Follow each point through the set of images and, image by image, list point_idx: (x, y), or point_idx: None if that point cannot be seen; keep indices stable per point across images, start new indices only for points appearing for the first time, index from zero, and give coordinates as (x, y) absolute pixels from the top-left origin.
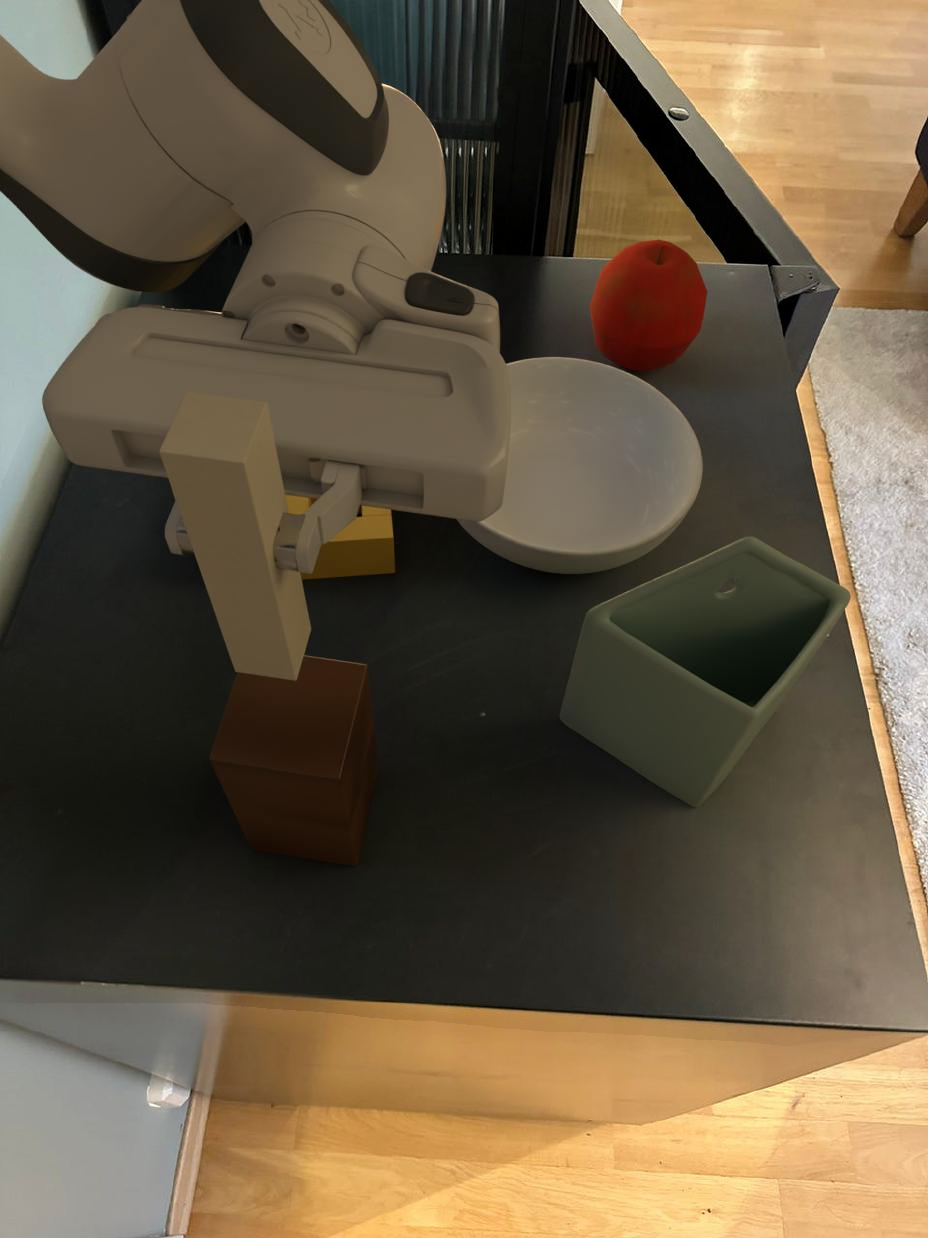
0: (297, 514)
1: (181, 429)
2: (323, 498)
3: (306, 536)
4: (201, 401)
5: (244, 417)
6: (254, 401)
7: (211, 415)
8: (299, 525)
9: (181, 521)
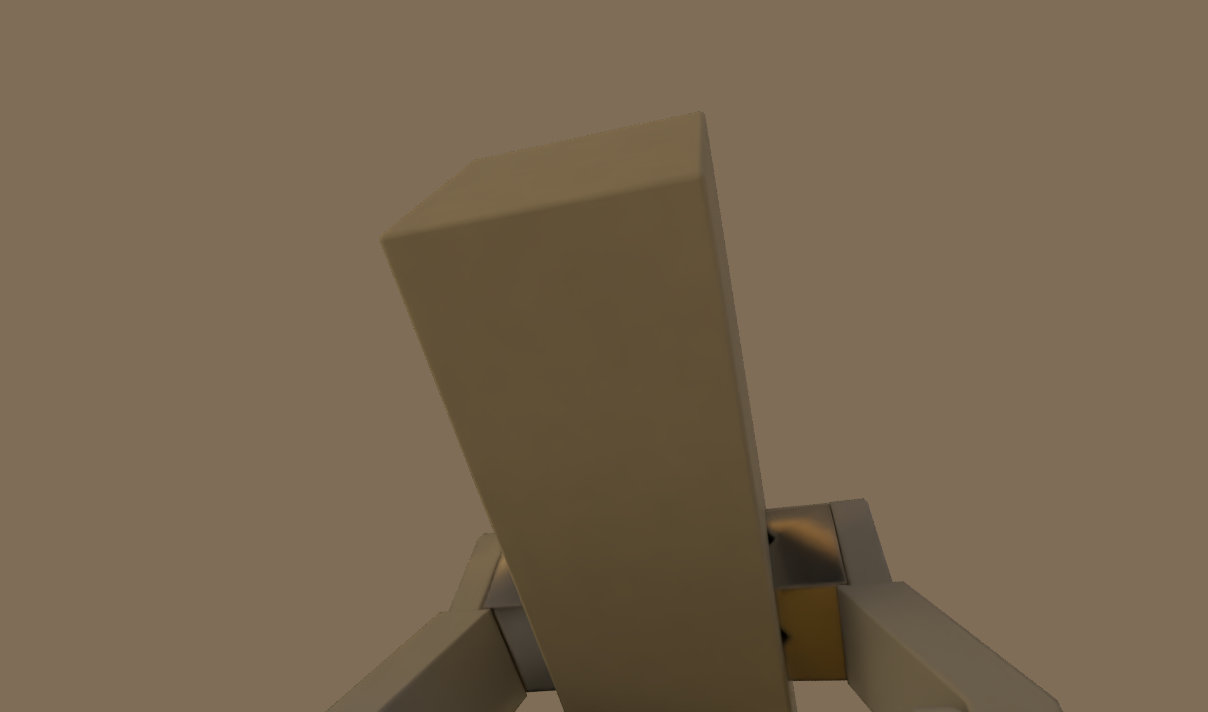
0: (502, 603)
1: (662, 136)
2: (418, 661)
3: (480, 551)
4: (625, 176)
5: (464, 194)
6: (424, 227)
7: (575, 169)
8: (497, 574)
9: (825, 515)
